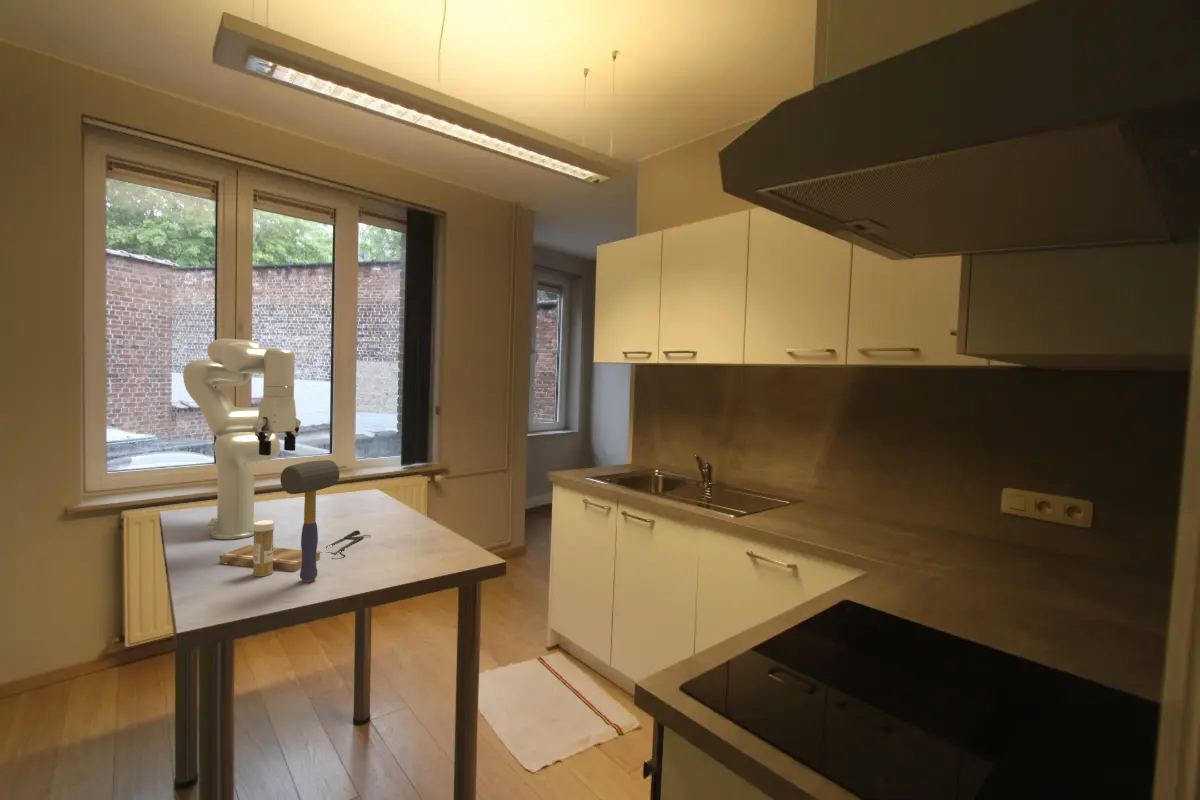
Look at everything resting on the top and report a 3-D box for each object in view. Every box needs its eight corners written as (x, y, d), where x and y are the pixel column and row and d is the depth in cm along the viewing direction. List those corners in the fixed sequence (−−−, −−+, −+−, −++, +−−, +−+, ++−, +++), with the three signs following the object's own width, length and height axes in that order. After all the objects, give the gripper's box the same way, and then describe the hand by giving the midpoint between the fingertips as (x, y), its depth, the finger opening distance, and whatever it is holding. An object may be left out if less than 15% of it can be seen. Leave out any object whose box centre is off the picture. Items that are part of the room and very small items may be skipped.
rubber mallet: (317, 570, 146) (320, 456, 144) (339, 575, 143) (342, 459, 142) (275, 586, 134) (277, 463, 133) (298, 592, 131) (300, 466, 130)
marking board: (219, 563, 147) (219, 555, 147) (248, 551, 157) (249, 544, 157) (294, 571, 144) (294, 563, 144) (319, 559, 154) (319, 551, 154)
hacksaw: (355, 533, 180) (355, 529, 180) (385, 536, 178) (385, 531, 178) (306, 557, 156) (306, 552, 156) (340, 560, 154) (340, 555, 154)
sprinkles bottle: (273, 575, 141) (275, 523, 140) (252, 578, 138) (253, 525, 138) (272, 569, 145) (273, 518, 144) (251, 572, 142) (252, 520, 142)
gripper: (288, 391, 166) (287, 448, 167) (243, 392, 149) (241, 455, 150) (311, 392, 165) (309, 449, 166) (268, 394, 148) (266, 457, 149)
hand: (277, 452), depth 158 cm, fingers open, 9 cm apart
